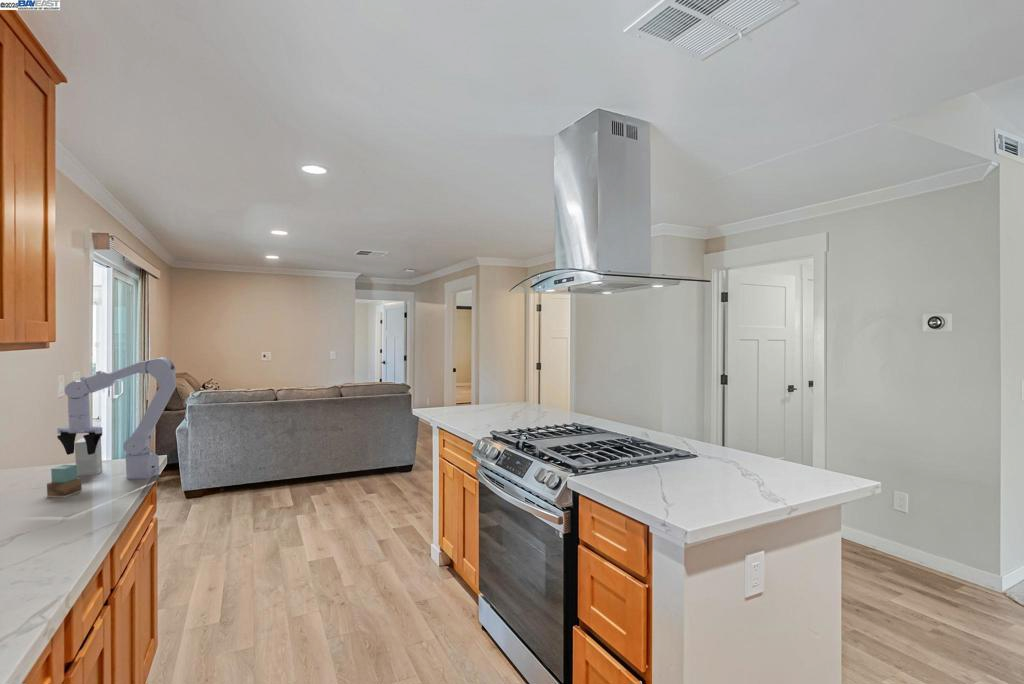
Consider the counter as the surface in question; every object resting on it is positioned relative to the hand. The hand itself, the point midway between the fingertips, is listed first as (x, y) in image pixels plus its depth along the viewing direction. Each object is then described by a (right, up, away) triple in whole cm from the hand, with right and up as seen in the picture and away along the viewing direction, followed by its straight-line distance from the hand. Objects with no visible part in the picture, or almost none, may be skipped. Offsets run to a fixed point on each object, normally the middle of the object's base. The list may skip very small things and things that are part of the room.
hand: (80, 453), depth 181 cm
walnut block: (+5, -10, -12) cm, 16 cm away
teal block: (+5, -6, -12) cm, 14 cm away
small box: (-6, -10, +12) cm, 17 cm away
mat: (+5, -11, -12) cm, 17 cm away
